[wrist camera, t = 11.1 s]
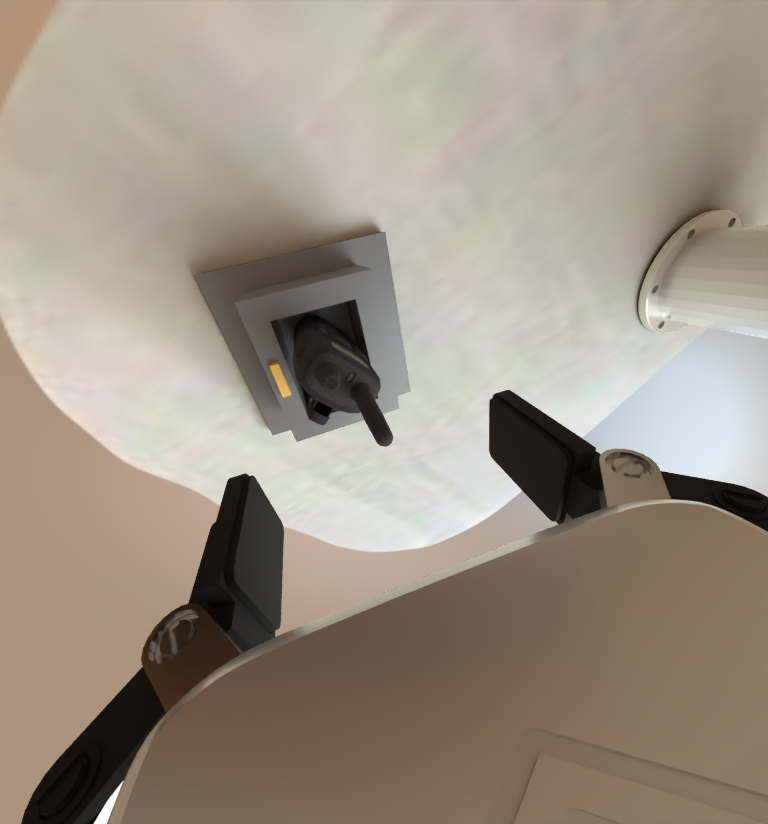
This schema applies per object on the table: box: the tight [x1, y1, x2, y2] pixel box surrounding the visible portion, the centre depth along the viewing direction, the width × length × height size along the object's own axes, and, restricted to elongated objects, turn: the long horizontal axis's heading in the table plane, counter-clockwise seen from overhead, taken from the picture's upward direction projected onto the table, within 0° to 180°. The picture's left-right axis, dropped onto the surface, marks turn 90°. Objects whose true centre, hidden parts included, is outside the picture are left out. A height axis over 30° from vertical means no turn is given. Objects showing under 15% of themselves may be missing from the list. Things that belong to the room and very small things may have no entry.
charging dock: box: [194, 232, 410, 442], centre depth 23 cm, size 14×14×6 cm
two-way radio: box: [293, 315, 393, 446], centre depth 18 cm, size 6×4×15 cm
